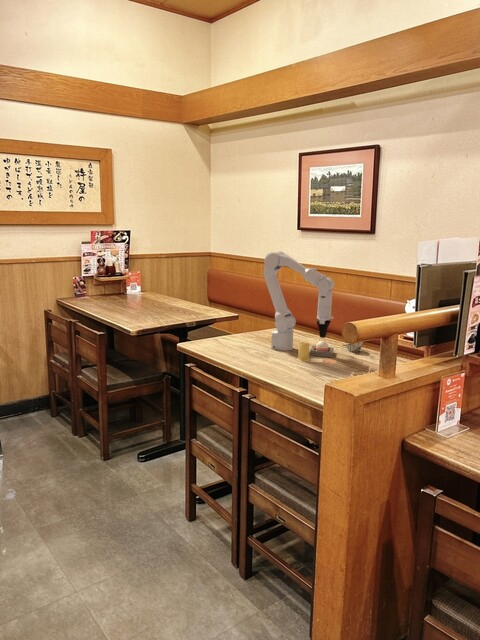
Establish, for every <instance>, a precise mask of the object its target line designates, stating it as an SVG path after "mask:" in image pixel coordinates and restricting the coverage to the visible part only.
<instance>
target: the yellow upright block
mask: <svg viewBox="0 0 480 640" xmlns="http://www.w3.org/2000/svg"><path fill="white" fill-rule="evenodd" d="M297 347H298V349H297V350H298V353H297V355H298V356H297V358H298V360H297V361H299V360H302V361H301V362H307V361H306V360H309V361H310V359H309V358H310V343H308V342H299V343H298V346H297Z"/></svg>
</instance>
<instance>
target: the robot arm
mask: <svg viewBox="0 0 480 640" xmlns="http://www.w3.org/2000/svg"><path fill="white" fill-rule="evenodd" d="M263 262H264V266H263V277H264V280H265V283H266V284H265V285H266V287H267V289H268V292H269V295H270V298H271V301H272V305H273V308H274V310H275V314H274V319H275V323H274V324H275V326H274V327H275V329H276V330H275V329H274V330H272V332H271V344H270V345H271V347H270V348H271V350H277V351H278V350H279V351H291V350H293V347H294V327H296V324H297V320H296V317H295V316H294V315H293V314H292V311H291V310H290V309H289V308H288V306H287V303H286V300H285V296H284V294H283V290H282V287H281V285H280V282H279V279H278V276H277V274H278V272H279V270H280V269H281V268H282V267H288V268H291V270H292V271H293V270H294V271H295V272H296V273H299V274H301V275H302V277H303V279H304V280H305V281H306V282H308V283H310V284H311V285H313V286H314V287H316V288H317V290H318V298H317V299H318V300H317V313H316V314H317V315H316V319H318V320H316V325H317V327H318V332H319V333H318V334H319V338H322V339H325V338H326V335H327V333H328V329H329V326H330V324H331V322H332V321H331V320H333V319H335V318H334V316H332V306H333V289H334V288H335V286H336V284H335V281H334V279H333V278H332V277H331V276H327V275H326V274H322V273H321V272H319V271H318V269H317V268H315V267H314V268H312V267H309V268H307V267H306V266H304V265H303V264H301V262H298V260H296V259H294V258H293V257H291V256H290V255H289V254H287V253H284V252H283V251H276V252H272V251H271V252H269V253H267V254H266V256H265V257H264V259H263Z"/></svg>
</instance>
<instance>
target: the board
mask: <svg viewBox="0 0 480 640" xmlns="http://www.w3.org/2000/svg"><path fill="white" fill-rule="evenodd" d="M296 361H301V362H303V361H302V360H298V357H297V358H296ZM305 362H311V363H323V364H331V365H332V364H334V365H336V364H337V360H334V359H323V358H310V357H309V360H306V361H305Z"/></svg>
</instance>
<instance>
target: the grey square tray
mask: <svg viewBox="0 0 480 640" xmlns="http://www.w3.org/2000/svg"><path fill="white" fill-rule="evenodd" d="M328 347H329V352H328V351H317V350H316V345H312V347H311V349H309V357H318V358H319V357H320V358H330V359H332V357H333V354H334V347H333V346H332V347H330V346H328Z"/></svg>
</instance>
